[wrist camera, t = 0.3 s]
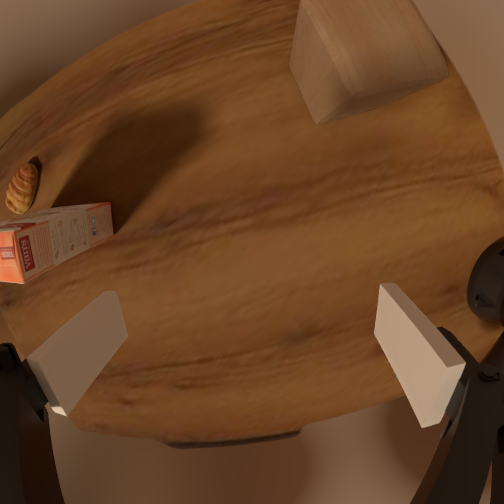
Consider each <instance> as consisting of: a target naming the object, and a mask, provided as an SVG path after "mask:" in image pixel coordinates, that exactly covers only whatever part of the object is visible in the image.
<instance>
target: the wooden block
mask: <svg viewBox="0 0 504 504" xmlns="http://www.w3.org/2000/svg"><path fill="white" fill-rule="evenodd" d="M289 68H290V70H291V72H292V74H293V76H294V78H295V80H296V83H297V85H298V87H299V89H300V92H301V94H302V96H303V98H304V101H305V103H306V105H307V108H308V110H309V112H310V115H311V117H312V119H313V121H314V122H315V123H316V124H324V123H327V122H330V121H334V120H337V119H340V118H344V117H347V116H351V115H354V114H358V113H361V112H365V111H369V110H372V109H375V108H378V107H380V106H382V105H384V104H387V103H389V102H391V101H394V100H396V99H398V98H401V97H403V96H405V95H408V94H410V93H413V92H415V91H418V90H420V89H423V88H425V87H428V86H430V85H433V84H435V83H438V82H441V81H443V80H444V79H445V78H446V77H447V76H448V74H449V72H448V66H447V64H446V62H445V60H444V57H443V55H442V53H441V51H440V49H439V47H438V45H437V43H436V41H435V39H434V37H433V35H432V33H431V31H430V29H429V27H428V26H427V24H426V22H425V20H424V19H423V17H422V15H421V13H420V12H419V10H418V8H417V7H416V5H415V4H414V2H413V0H300V5H299V10H298V16H297V22H296V28H295V33H294V39H293V45H292V50H291V56H290V62H289Z"/></svg>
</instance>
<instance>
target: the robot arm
mask: <svg viewBox="0 0 504 504" xmlns="http://www.w3.org/2000/svg"><path fill="white" fill-rule="evenodd" d="M467 300H468V305H469V307H470V309H471V311H472V312H473V313H474V314H475V315H476V316H478V317H479V318H480V319H482V320H485V321H489V322H493V323H497V324H500V325H502V326H503V327H504V243H496V244H494V245H492V246H490V247H489V248H488V249H487V250H486V251H485V252H484V253H483V254H482V255H481V256H480V258H479V259H478V261H477V263H476V264H475V266H474V269H473V271H472V273H471V276H470V280H469V284H468V290H467ZM374 334H375V336H376V338H377V340H378V342H379V344H380V345H381V347H382V349H383V351H384V353H385V355H386V357H387V359H388V360H389V362H390V364H391V366H392V368H393V370H394V372H395V374H396V376H397V378H398V380H399V382H400V384H401V386H402V388H403V390H404V392H405V394H406V396H407V398H408V400H409V402H410V404H411V406H412V408H413V410H414V412H415V414H416V416H417V418H418V421H419V423H420V425H421V427H422V428H423V427H427V426H431V425H433V424H437V423H440V421H441V419H442V417H443V415H444V413H445V411H446V413H447V415H448V416H449V420H448V422H447V424H446V426H445V428H444V430H443V432H442V433H441V435H440V437H439V438H441V440H440V442H439V445H438V447H437V450H436V452H435V454H434V457H433V459H432V461H431V464H430V466H429V468H428V470H427V472H426V474H425V476H424V478H423V480H422V482H421V484H420V486H419V488H418V490H417V492H416V494H415V495H414V497H413V499H412V501H411V502H410V504H479V501H480V498H481V495H482V492H483V489H484V486H485V483H486V479H487V476H488V472H489V469H490V465H491V461H492V485H491V500H490V501H491V502H490V504H504V331H503V333H502V334H501V336H500V337H499V338H498V340H497V341H496V343H495V344H494V345H493V347H492V348H491V350H490V351H489V352H488V354H487V355H486V356H485V357H484V359H483V360H482V361H481V363H480V364H479V363H478V362H477V361H476V360H475V358H474V357H473V356H472V355H471V354H470V353H469V351H468V350H467V349H466V348H465V347H464V346H462V344H461V343H460V341H457V338H456V337H455V336H454V335H453V334H452V333H451V332H450V331H448V330H446V329H445V328H443V327H438V328H436V327H435V326H434V325H433V324H432V322H431V321H430V320H429V319H428V318H427V317H426V316H425V315H424V314H423V313H422V311H421V310H420V309H419V308H418V307H417V306H416V305H415V304H414V303H413V302H412V301H411V300H410V299H409V298H408V296H407V295H406V294H405V293H404V292H403V291H402V290H401V289H400V288H399V287H398V286H397V285H396V284H395V283H384V284H380V290H379V299H378V308H377V315H376V323H375V329H374ZM127 337H128V334H127V330H126V327H125V323H124V319H123V315H122V311H121V307H120V303H119V299H118V295H117V291H104V292H103V293H102V294H101V295H99V296H98V297H97V298H96V299H94V300H93V301H92V302H91V303H90V304H88V305H87V306H86V307H85V308H83V309H82V310H81V311H80V312H79V313H77V314H76V315H75V316H74V317H73V318H71V319H70V320H69V321H68V322H67V323H66V324H64V325H63V326H62V327H61V328H60V329H59V330H57V331H56V332H55V333H54V334H53V335H52V336H50V337H49V338H48V339H47V340H46V341H45V342H44V343H42V344H41V345H40V346H39V347H38V348H37V349H36V350H35V351H34V352H32V353H31V354H30V355H29V356H28V357H27V358H26V359H25V360H24V361H23V362H21V360H20V358H19V356H18V354H17V351H16V349H15V347H14V345H13V344H12V343H3V344H0V504H65V503H64V499H63V496H62V492H61V488H60V484H59V479H58V475H57V471H56V466H55V460H54V455H53V450H52V442H51V435H50V427H49V418H48V412H47V409H46V408H45V405H46V403H47V402H49V404H50V405H51V407H52V409H53V410H54V412H56V413H59V414H62V415H65V416H68V414H69V413H70V412H71V410H72V409H73V408H74V406H75V405H76V404H77V402H78V401H79V399H80V398H81V397H82V395H83V394H84V393H85V391H86V390H87V389H88V388H89V386H90V385H91V384H92V382H93V381H94V380H95V378H96V377H97V376H98V374H99V373H100V372H101V370H102V369H103V368H104V367H105V365H106V364H107V363H108V361H109V360H110V359H111V358H112V356H113V355H114V354H115V353H116V351H117V350H118V349H119V347H120V346H121V345H122V344H123V342H124V341H125V340H126V339H127Z"/></svg>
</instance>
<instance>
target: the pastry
mask: <svg viewBox="0 0 504 504" xmlns="http://www.w3.org/2000/svg"><path fill="white" fill-rule="evenodd" d="M37 181H38V170H37V168H36V167H35V165H33V164H31V163H25V164H24V165H23V166H22V167H21V168H19V169H18V172H17V173H16V174H14V176H13V178H12V179H11V181H10V183H9V187H8V188H7V191H6V193H7V198H6V200H5V201H6V205H7V206H8V208H9V209H10V210H12V211H13V212H15V213H18V214H24V213H25V212H26V211H27V210H28V209H29V208H30V206H31V204H32V202H33V199H34V196H35V191H36V186H37Z"/></svg>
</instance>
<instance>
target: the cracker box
mask: <svg viewBox="0 0 504 504" xmlns="http://www.w3.org/2000/svg"><path fill="white" fill-rule="evenodd" d="M113 236H114V232H113V223H112V213H111V202H102V203H91V204H81V205H71V206H62V207H55V208H49V209H45V210H42V211H38V212H34V213H30V214H26V215H23V216H19V217H16V218H13V219H9V220H6V221H3V222H0V281H3V282H12V283H20V284H24V283H26V282H28V281H30V280H31V279H33V278H35V277H37V276H39V275H40V274H42V273H44V272H46V271H48V270H49V269H51V268H53V267H55V266H57V265H58V264H60V263H62V262H64V261H66V260H68V259H70V258H72V257H73V256H75V255H77V254H79V253H81V252H83V251H85V250H87V249H89V248H91V247H93V246H95V245H97V244H99V243H101V242H103V241H105V240H107V239H109V238H111V237H113Z"/></svg>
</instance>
